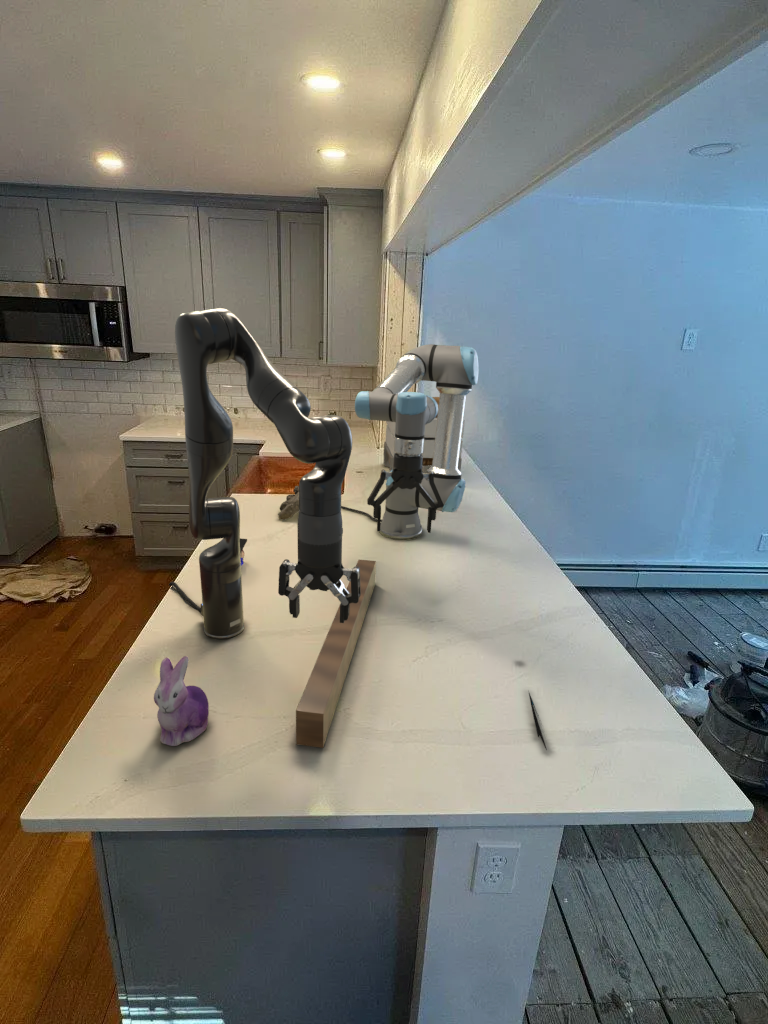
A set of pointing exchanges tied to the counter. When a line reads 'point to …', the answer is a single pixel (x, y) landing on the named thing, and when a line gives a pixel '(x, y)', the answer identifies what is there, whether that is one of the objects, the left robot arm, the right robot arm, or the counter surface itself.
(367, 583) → the post
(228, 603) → the left robot arm
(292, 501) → the fossil
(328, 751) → the counter surface
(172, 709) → the figurine
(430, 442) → the white wooden crate
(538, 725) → the feather
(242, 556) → the figurine character
